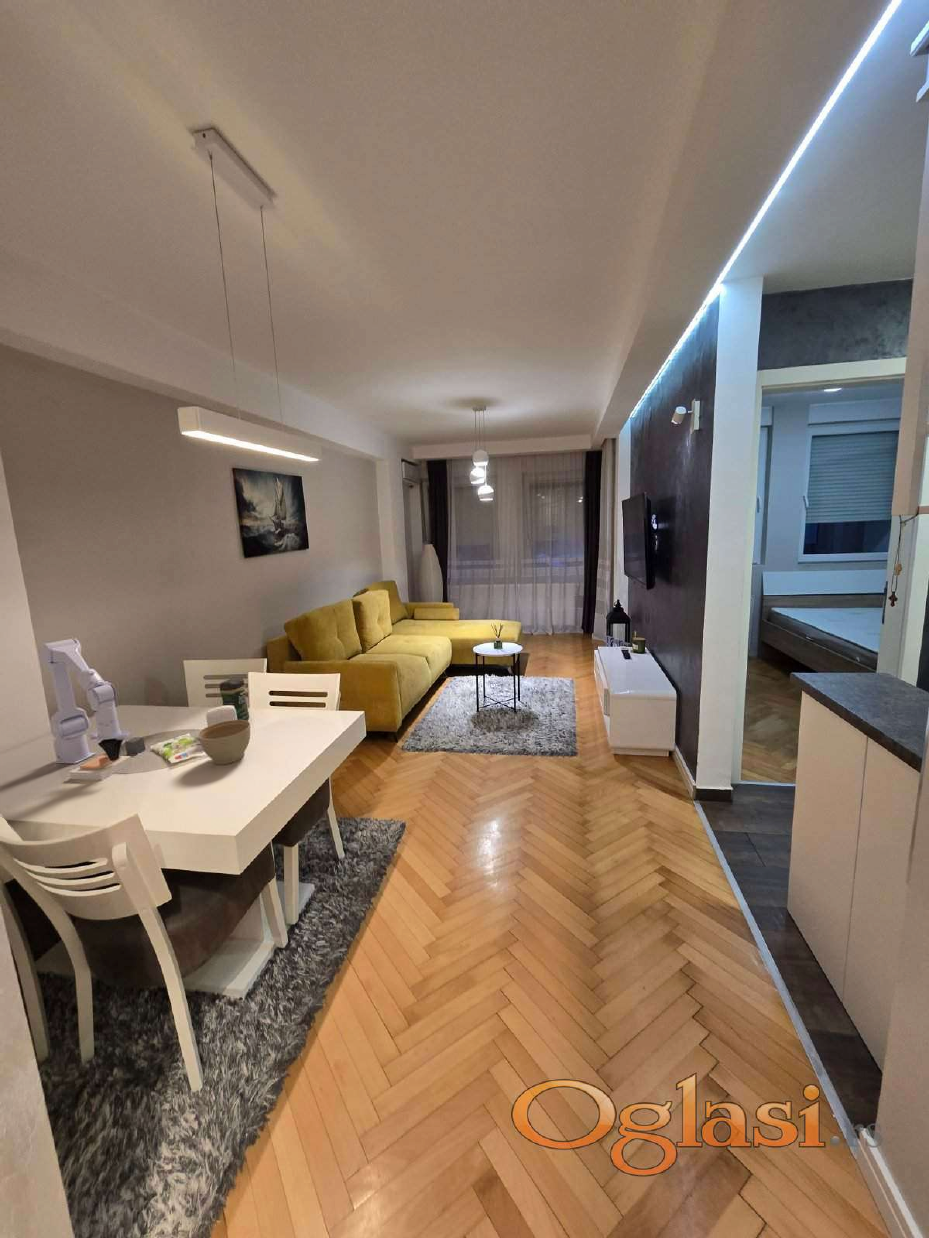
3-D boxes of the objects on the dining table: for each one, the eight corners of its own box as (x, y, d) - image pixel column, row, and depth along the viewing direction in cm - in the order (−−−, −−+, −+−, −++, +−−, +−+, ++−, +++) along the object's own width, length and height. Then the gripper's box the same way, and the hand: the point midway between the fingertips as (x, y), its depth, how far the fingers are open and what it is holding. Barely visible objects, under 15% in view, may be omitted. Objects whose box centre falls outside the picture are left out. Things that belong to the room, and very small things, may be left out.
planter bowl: (195, 761, 171) (190, 731, 169) (242, 744, 182) (238, 716, 180) (213, 774, 160) (208, 742, 158) (262, 756, 171) (258, 726, 169)
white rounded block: (238, 732, 195) (233, 701, 192) (240, 735, 191) (235, 704, 189) (209, 739, 189) (204, 708, 187) (210, 743, 186) (205, 711, 183)
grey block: (127, 754, 180) (124, 741, 179) (136, 750, 184) (133, 737, 183) (136, 755, 179) (134, 742, 178) (145, 750, 183) (143, 737, 182)
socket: (70, 779, 163) (69, 771, 163) (103, 762, 175) (101, 755, 175) (101, 780, 161) (100, 772, 161) (132, 762, 173) (131, 756, 172)
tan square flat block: (79, 768, 164) (78, 760, 164) (101, 757, 172) (99, 749, 172) (100, 768, 163) (98, 760, 162) (121, 757, 171) (119, 750, 170)
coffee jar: (239, 726, 200) (232, 682, 197) (221, 726, 201) (214, 682, 198) (253, 717, 210) (246, 675, 206) (236, 717, 211) (229, 675, 208)
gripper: (77, 725, 161) (85, 764, 164) (115, 725, 159) (123, 765, 161) (96, 717, 168) (104, 754, 171) (133, 717, 165) (140, 755, 168)
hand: (114, 759), depth 166 cm, fingers closed
